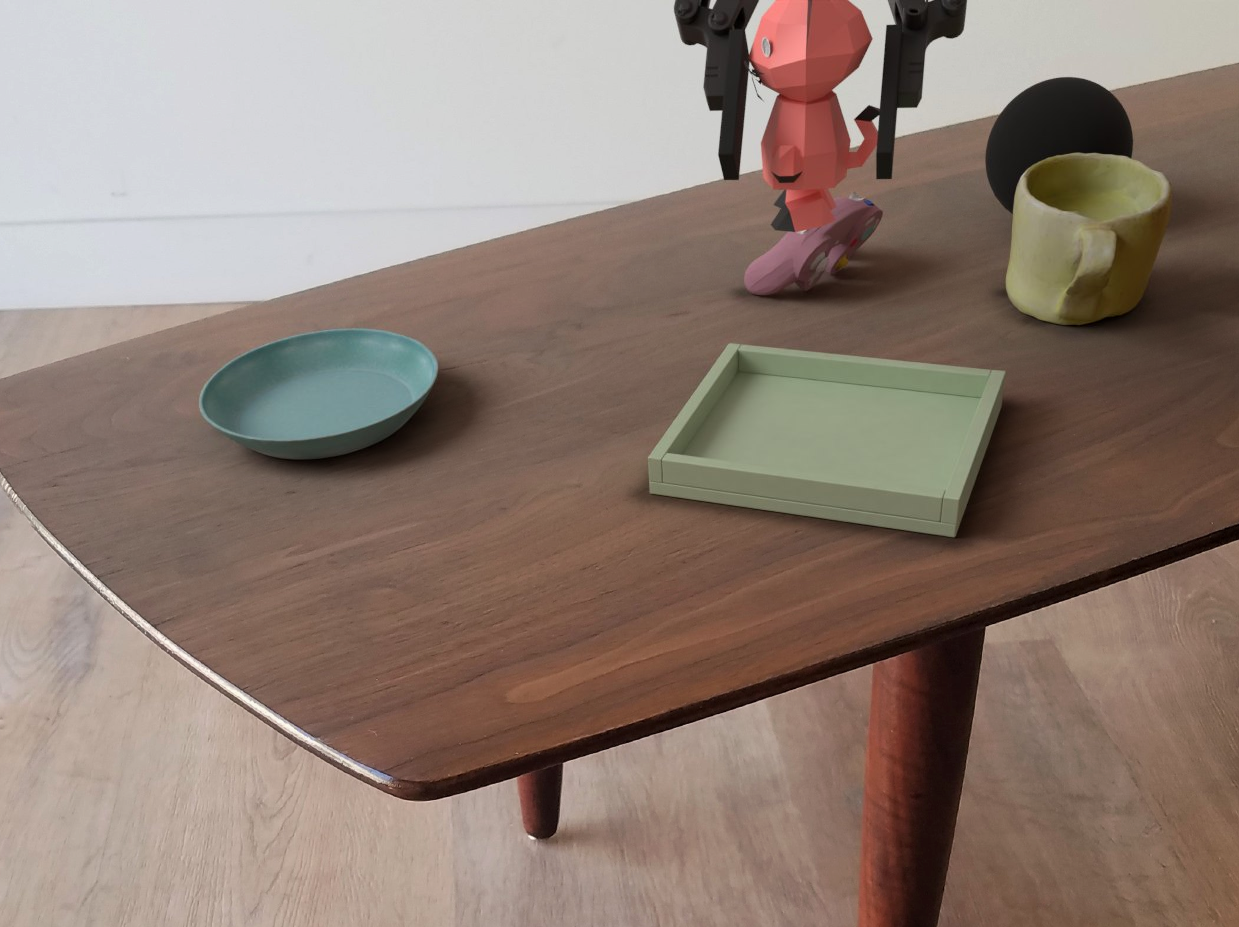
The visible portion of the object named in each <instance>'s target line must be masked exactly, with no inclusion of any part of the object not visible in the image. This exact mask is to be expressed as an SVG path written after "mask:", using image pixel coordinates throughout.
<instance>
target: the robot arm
mask: <svg viewBox="0 0 1239 927" xmlns="http://www.w3.org/2000/svg"><path fill="white" fill-rule="evenodd" d="M711 1H712V0H674V4H673V13H674V17H675V21H676V25H677V29H678V33H679V36H680V41H681V42H682V43H683V44H684V45H686V46H696V45H697V44H698V45H700V46H703V47H704V48H706V56H705V64H704V78H703V92H704V96H705V100H706V104H707V107H708V111H710V112H719V111H720V112H721V120H720V131H719V141H718V152H717V156H718V160H719V164H720V169H721V174H722V177H723V180H724V181H739V180H740V173H741V172H740V171H741V161H742V160H741V159H742V149H743V138H744V128H745V117H746V106H747V94H748V82H749V74H750V72H749V70H748V69H747V67H746V66H745V64H744V61H746V62H747V65H748V67H749V68H750V64H751V63H750V61H749V59H748V57H749V54H750V50H749V46H748V39H747V33H746V29H747V27H748V25H749V22H750V21H751V18H752V16H753V14H754V12H755V10H756V9H757V7H758V6H757V5H758V4H759V3H760V0H715V2H714V5H713V6H712V8H711V7H710V6H711ZM887 3H888V7H889V9H890V12H891V15H892V18H893V21H894V24H886V27H885V37H884V38H885V39H884V50H883V64H882V76H881V87H880V88H881V89H880V101H879V109H880V112H879V116H878V125H877V126H878V127H877V131H878V137H877V146H876V149H875V150H876V151H875V170H876V172H875V176H876V177H875V178H876V179H875V180H892V179H893V169H894V168H893V167H894V156H895V144H896V143H895V142H896V129H897V118H898V117H897V116H898V109H916V108H918V106H919V105H920V102H921V101H922V98H923V90H924V88H923V86H924V76H925V63H926V51H927V49H928V47H929V45H930V44H931V43H932V42H934V41H936V40H939V39H940V38H946V39H952V40H953V39H956V38H958V37H959V36H961V35H962V34H963V32H964V30H965V24H966V16H967V15H966V14H967V6H968V0H887Z"/></svg>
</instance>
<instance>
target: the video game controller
mask: <svg viewBox="0 0 1239 927" xmlns="http://www.w3.org/2000/svg"><path fill="white" fill-rule="evenodd" d="M832 198H833V200H834V202H835V204H836V207H835V208H834V209H833V210H830V211H831V213H832V214H833V216H834V218H835V219H836V221H834V222H831V223H829V224H827V225H824V226H821V227H817V228H812V229H808V230H803V231H799V232H788V231H787V232H786V233H785V234H784V236H782V238H781V239H780V240H779V241H778V242H777V243H776V244H775V245H774V246H773V247H771V248H770V249H769V250H768V251H767V252H765V253H764V254H762V255H760V256H759V257H757V258H756V259H755V260H753V261H752V262H751V263H750V264H749V265H748V267H747V268H746V270H745V272H744V277H743V278H744V279H743V282H744V285H745V286H744V287H746V288H745V289H746V290H747V291H748V292H749V293H751V294H752V295H756V296H769V295H773V294H777V293H779V292H780V291H782V290H784V289H786V288H787V287H789V286H791V285H793V284H794V283H795V284H796V286H797V287H798V288H800V289H801V290H802V291H804V292H807V291H809V290H810V289H811V288H813V287H815V285H816V284H817V283H818V281H819V280H820V279H821V278H822V276H823V274H824V272H826V273H827V274H829V275H830V276H833V275H836V274H837V273H839V272H840V271H841V270H843V269H845V268H846V267H847V266H848V264H849V260H850V259H851V257H852V256H853V255H854V254H855V253H856V252H857V250H858V249H860V247H862V245H864V244H865V243H866V242H867V241H868V239H870V237H871V236H872V235H873V234H874V232H875V231H876V229H877V228H878V226H879V224H880V222H881V221H882V218H883V216H884V211H883V210H882V209H881V208H880V207H878V206H877V205H875V203H874V202H873V201H871V200H870V199H867V198H866V197H859V195H858V194H857V192H856V191H853V192H851V193H850V195H849V196H848V197H846V196H839V197H832Z"/></svg>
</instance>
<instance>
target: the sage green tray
mask: <svg viewBox="0 0 1239 927" xmlns="http://www.w3.org/2000/svg"><path fill="white" fill-rule="evenodd" d="M722 351H723V352H722V353H721V354H720V356H718V358H717V359H716V361H715V363H714V364H713V365H712V366H711V368H710V369H709V371H708V372H707V374H706V375H705V376H704V378H703V379H702V380H701V382H700V383H699V385H698V386H697V388H696V389H695V391H694V392H693V393H692V394H691V397H690V398H689V399H688V400H687V402H686V403H685V404H684V405H683V408H682V409H681V410H680V412H679V413H678V414H677V416H676V417H675V418H674V420H673V422H672V423H671V424H670V426H669V427H668V429H667V430H666V431H665V433H664V434H663V435H662V437H661V438H660V440H659V441H658V443H657V444H656V446H655V447H654V448H653V450H652V451H651V452H650V453H649V455H648V456H647V463H648V465H647V467H648V481H649V482H648V483H649V484H648V485H649V494H650V495H657V496H665V497H671V498H679V499H686V500H693V501H699V502H700V501H701V502H708V503H713V504H721V505H728V506H734V507H741V508H746V509H753V510H763V511H768V512H775V513H783V514H790V515H795V516H802V517H810V518H817V519H825V520H831V521H837V522H844V523H852V524H858V525H865V526H872V527H879V528H887V529H893V530H899V531H906V532H907V531H908V532H914V533H922V534H926V535H927V534H929V535H935V536H942V537H948V538H956V536H957V533H958V531H959V528H960V525H961V522H962V519H963V517H964V514H965V511H966V509H967V504H968V502H969V499H970V497H971V494H972V491H973V488H974V486H975V483H976V480H977V477H978V474H979V471H980V469H981V465H982V463H983V460H984V458H985V454H986V452H987V449H988V446H989V444H990V440H991V439H992V438H991V437H992V435H993V432H994V429H995V427H996V423H997V420H998V417H999V415H1000V412H1001V409H1002V406H1003V398H1004V396H1003V395H1004V391H1005V384H1006V383H1005V382H1006V374H1007V371H1006V370H998V369H986V368H977V367H966V366H958V365H957V366H956V365H948V364H947V365H946V364H937V363H928V362H918V361H917V362H916V361H907V360H898V359H889V358H879V357H878V358H877V357H869V356H860V355H859V356H858V355H850V354H839V353H830V352H829V353H828V352H820V351H819V352H818V351H810V350H800V349H792V348H791V349H789V348H780V347H770V346H761V345H753V344H752V345H750V344H741V343H733V342H729V343H728V344H727V345H726V347H725V349H724V350H722Z"/></svg>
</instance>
